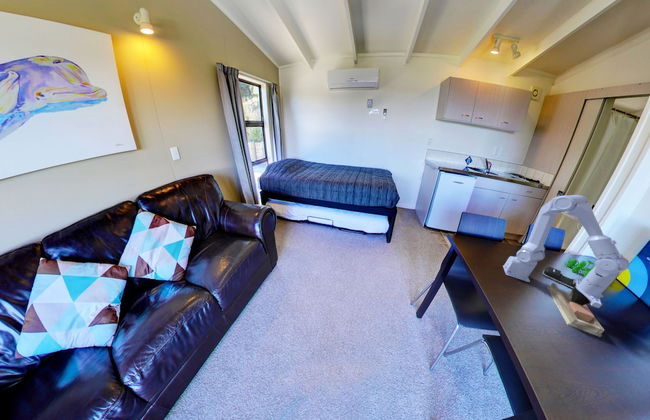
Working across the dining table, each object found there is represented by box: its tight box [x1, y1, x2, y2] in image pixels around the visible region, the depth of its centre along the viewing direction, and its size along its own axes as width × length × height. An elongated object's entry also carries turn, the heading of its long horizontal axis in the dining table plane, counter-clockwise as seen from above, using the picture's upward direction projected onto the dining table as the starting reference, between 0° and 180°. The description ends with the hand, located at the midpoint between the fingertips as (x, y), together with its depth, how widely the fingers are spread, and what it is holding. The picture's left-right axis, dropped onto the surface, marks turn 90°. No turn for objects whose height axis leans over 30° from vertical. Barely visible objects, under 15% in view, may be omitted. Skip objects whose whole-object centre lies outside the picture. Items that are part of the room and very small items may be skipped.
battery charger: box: [542, 266, 576, 290], centre depth 102 cm, size 7×4×11 cm
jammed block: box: [568, 302, 595, 323], centre depth 82 cm, size 5×5×4 cm
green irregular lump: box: [564, 258, 595, 278], centre depth 108 cm, size 15×15×7 cm
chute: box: [546, 282, 605, 338], centre depth 85 cm, size 9×22×4 cm, turn 150°
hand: (573, 306), depth 85 cm, fingers closed
